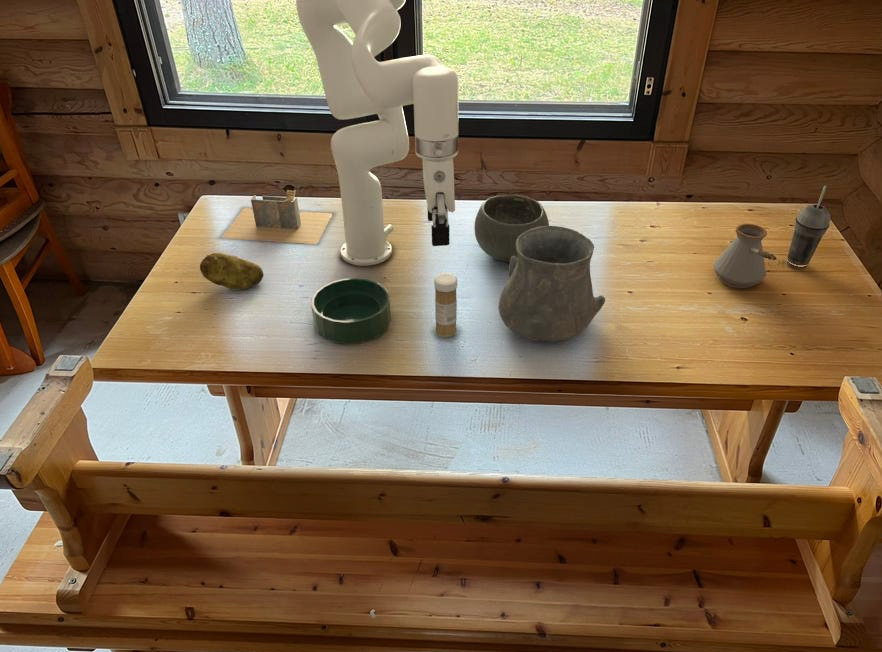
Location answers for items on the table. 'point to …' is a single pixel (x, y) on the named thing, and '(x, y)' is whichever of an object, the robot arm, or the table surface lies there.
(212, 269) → the potato
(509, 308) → the vessel
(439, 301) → the sprinkles bottle
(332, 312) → the green round dish
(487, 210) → the bowl
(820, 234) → the beverage cup
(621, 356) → the table surface
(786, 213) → the table surface
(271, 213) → the architectural model on board
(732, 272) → the coffee pot
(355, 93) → the robot arm
